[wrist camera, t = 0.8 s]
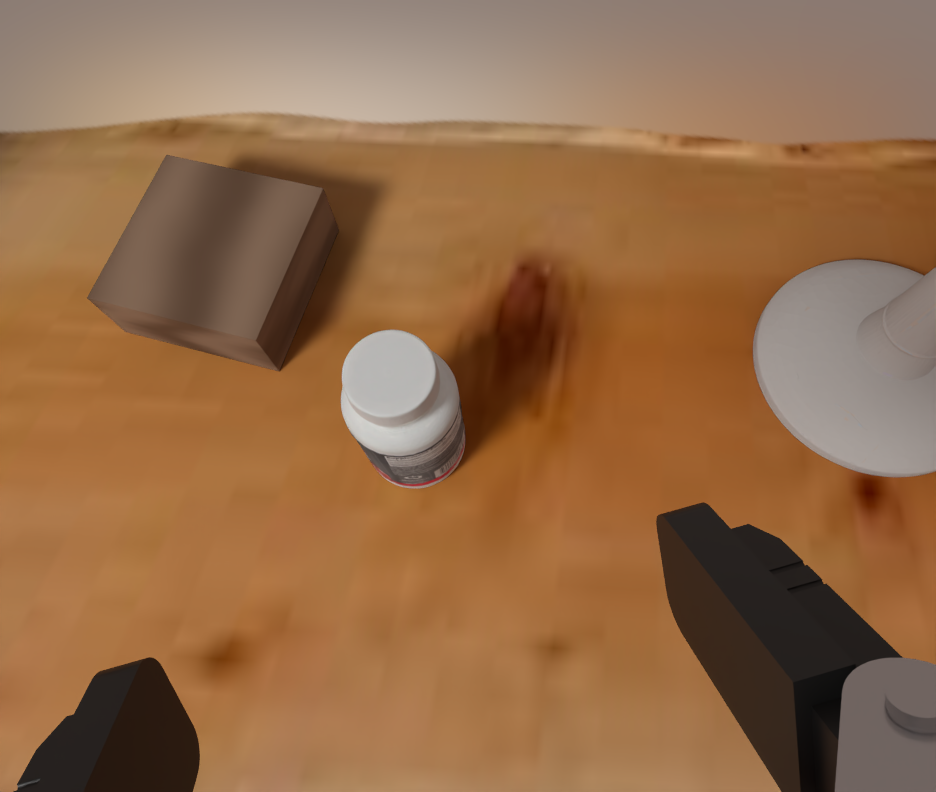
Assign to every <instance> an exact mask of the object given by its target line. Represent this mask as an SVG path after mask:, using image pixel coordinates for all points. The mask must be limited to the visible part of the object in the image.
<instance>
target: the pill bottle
mask: <svg viewBox="0 0 936 792" xmlns="http://www.w3.org/2000/svg"><path fill="white" fill-rule="evenodd" d="M342 384H343V388H342V393H341V408H342V414H343V417H344V420H345V422H346V425H347V427H348V429H349V430H350V432H351V434H352V436H353V437H354V438H355V439H356V440H357V442H358V443H359V445H360V446H361V448H362V449H363V451H364V452H365V454H366V455H367V457H368V458H369V460H370V462H371V463H372V465H373V466H374V467H375V469H376V470H377V471H378V472H379V473H380V474H381V475H382V476H383V477H384V478H385V479H386V480H388V481H389V482H391V483H393V484H395V485H398V486H401V487H405V488H425V487H429V486H432V485H434V484H436V483H439V482H441V481H442V480H444V479H445V478H447V477H448V476H449V475H450V474H451V473H452V472H453V471H454V470H455V468H456V467H457V466H458V464H459V462H460V460H461V458H462V456H463V452H464V448H465V428H464V423H463V417H462V410H461V402H460V397H459V391H458V386H457V383H456V380H455V377H454V375H453V373H452V371H451V369H450V368H449V366H448V365H447V364H446V363H445V361H444V360H443V359H442V358H441V357H439V356H438V355H437V354H436V353H434V352H433V351H431V350H430V349H429V347H428V346H427V345H426V344H425V343H424V342H423V341H422V340H421V339H419V338H418V337H416V336H415V335H413V334H410V333H408V332H405V331H401V330H384V331H379V332H375V333H373V334H370V335H368V336H367V337H365V338H363V339H362V340H360V341H359V342H358V343H357V344H356V345H355V346H354V347H353V348H352V349H351V351H350V352H349V354H348V355H347V357H346V359H345V362H344V365H343V369H342Z"/></svg>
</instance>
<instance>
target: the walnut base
mask: <svg viewBox="0 0 936 792" xmlns="http://www.w3.org/2000/svg"><path fill="white" fill-rule="evenodd" d="M338 231H339V229H338V226H337V223H336V221H335V218H334V216H333V213H332V210H331V208H330V205H329V202H328V200H327V197H326V194H325V192H324V189H323V188H320V187H315V186H311V185H306V184H301V183H297V182H292V181H287V180H283V179H278V178H273V177H268V176H264V175H259V174H254V173H250V172H245V171H240V170H236V169H231V168H226V167H221V166H217V165H212V164H207V163H203V162H198V161H193V160H189V159H184V158H179V157H175V156H170V155H166V156H165V158H164V160H163V162H162V164H161V165H160V167H159V169H158V171H157V173H156V175H155V176H154V178H153V180H152V182H151V184H150V185H149V187H148V189H147V191H146V193H145V194H144V196H143V198H142V200H141V202H140V203H139V205H138V207H137V209H136V211H135V212H134V214H133V216H132V218H131V220H130V221H129V223H128V225H127V227H126V229H125V230H124V232H123V234H122V236H121V238H120V239H119V241H118V243H117V245H116V247H115V248H114V250H113V252H112V254H111V256H110V257H109V259H108V261H107V263H106V265H105V266H104V268H103V270H102V272H101V274H100V275H99V277H98V279H97V281H96V283H95V284H94V286H93V288H92V290H91V292H90V293H89V295H88V297H87V298H88V299H89V300H90V301H91V302H92V303H93V304H94V305H96V306H97V307H98V308H99V309H100V310H101V311H102V312H103V313H105V314H106V315H107V316H108V317H109V318H110V319H111V320H113V321H114V322H115V323H116V324H117V325H118V326H119V327H121V328H122V329H123V330H124V331H125V332H129V333H132V334H136V335H140V336H144V337H148V338H152V339H156V340H160V341H163V342H167V343H171V344H175V345H179V346H183V347H187V348H191V349H194V350H198V351H202V352H206V353H210V354H214V355H218V356H222V357H226V358H229V359H233V360H237V361H241V362H245V363H249V364H253V365H257V366H260V367H264V368H268V369H272V370H276V371H280V368H281V366H282V364H283V361H284V359H285V357H286V354H287V352H288V350H289V347H290V345H291V342H292V340H293V338H294V335H295V333H296V331H297V328H298V326H299V323H300V321H301V319H302V316H303V314H304V312H305V309H306V307H307V304H308V302H309V300H310V297H311V295H312V293H313V290H314V288H315V285H316V283H317V281H318V278H319V276H320V274H321V271H322V269H323V267H324V264H325V262H326V259H327V257H328V255H329V252H330V250H331V248H332V245H333V243H334V240H335V238H336V236H337V233H338Z"/></svg>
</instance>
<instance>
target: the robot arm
mask: <svg viewBox="0 0 936 792" xmlns="http://www.w3.org/2000/svg"><path fill="white" fill-rule="evenodd" d="M656 523H657V532H658V539H659V545H660V552H661V558H662V565H663V571H664V578H665V584H666V591H667V596H668V600H669V604H670V607H671V610H672V613H673V615H674V618H675V620H676V623H677V625H678V627H679V629H680V631H681V633H682V634H683V636H684V638H685V639H686V641H687V642H688V644H689V645H690V647H691V649H692V650H693V652H694V653H695V655H696V657H697V658H698V660H699V661H700V663H701V664H702V666H703V668H704V669H705V671H706V672H707V674H708V676H709V677H710V679H711V680H712V682H713V684H714V685H715V687H716V688H717V690H718V691H719V693H720V695H721V696H722V698H723V699H724V701H725V703H726V704H727V706H728V707H729V709H730V710H731V712H732V714H733V715H734V717H735V718H736V720H737V722H738V723H739V725H740V726H741V728H742V729H743V731H744V733H745V734H746V736H747V737H748V739H749V741H750V742H751V744H752V745H753V747H754V749H755V750H756V752H757V753H758V755H759V756H760V758H761V760H762V761H763V763H764V764H765V766H766V768H767V769H768V771H769V772H770V774H771V775H772V777H773V779H774V780H775V782H776V783H777V785H778V787H779V788H780V790H781V791H782V792H936V665H934V664H931V663H928V662H924V661H920V660H916V659H908V658H903V657H902V656H900V655H899V654H898V653H897V652H896V651H895V650H894V649H893V648H892V647H891V646H890V645H889V644H888V643H887V642H886V641H885V640H884V639H883V638H882V637H881V636H880V635H879V634H878V633H877V632H876V631H875V630H874V629H873V628H872V627H871V626H870V625H868V624H867V623H866V622H865V621H864V620H863V619H862V618H861V617H860V616H859V615H858V614H857V613H856V612H855V611H854V610H853V609H852V608H851V607H850V606H849V605H848V604H847V603H846V602H845V601H844V600H843V599H842V598H841V597H840V596H839V595H838V594H837V593H836V592H835V591H833V590H832V589H831V588H830V587H829V586H828V585H827V584H823V582H822V579H821V578H820V577H819V576H818V575H817V574H816V573H815V572H814V571H813V570H812V569H811V568H810V567H809V566H808V565H804V563H803V560H802V559H801V558H800V557H798V556H797V555H796V554H795V553H794V552H793V551H792V550H791V549H790V548H789V547H788V546H787V545H786V544H785V543H784V542H783V541H782V540H781V539H780V538H777V537H775V536H773V535H771V534H769V533H767V532H764V531H762V530H760V529H758V528H756V527H754V526H752V525H749V524H747V525H743V526H740V527H736V528H733V529H730V528H729V527H728V525H727V524H726V523H725V522H724V521H723V520H722V519H721V518H720V517H719V516H718V515H717V514H716V512H715V511H714V510H713V509H712V508H711V507H710V506H709V505H708V504H706V503H699V504H696V505H692V506H689V507H685V508H681V509H678V510H674V511H671V512H667V513H664V514H660V515H658V516H657V521H656ZM199 760H200V752H199V743H198V738H197V734H196V731H195V728H194V726H193V724H192V722H191V720H190V718H189V717H188V715H187V713H186V711H185V709H184V707H183V705H182V703H181V702H180V700H179V698H178V696H177V694H176V692H175V690H174V688H173V686H172V685H171V683H170V681H169V679H168V677H167V675H166V673H165V671H164V669H163V668H162V666H161V664H160V663H159V662H158V661H157V660H156V659H154V658H145V659H142V660H138V661H135V662H131V663H128V664H124V665H121V666H117V667H114V668H110V669H106V670H103V671H100V672H98V673H97V674H96V675H95V676H94V677H93V679H92V681H91V683H90V684H89V686H88V688H87V690H86V692H85V694H84V696H83V698H82V700H81V702H80V704H79V706H78V707H77V709H76V711H75V713H74V715H70V716H67V717H66V718H65V719H64V720H63V721H62V722H61V723H60V724H59V725H58V726H57V728H56V729H55V730H54V731H53V732H52V733H51V734H50V735H49V736H48V737H47V739H46V740H45V741H44V742H43V743H42V744H41V745H40V746H39V747H38V749H37V750H36V751H35V753H34V755H33V757H32V759H31V760H30V762H29V764H28V766H27V768H26V769H25V771H24V773H23V775H22V777H21V778H20V780H19V782H18V784H17V785H18V790H17V791H14V792H193V789H194V785H195V781H196V778H197V774H198V770H199Z"/></svg>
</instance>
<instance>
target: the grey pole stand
mask: <svg viewBox="0 0 936 792" xmlns="http://www.w3.org/2000/svg"><path fill="white" fill-rule="evenodd" d="M753 360H754V367H755V372H756V376H757V380H758V383H759V385H760V388H761V391H762V393H763V395H764V397H765V399H766V401H767V403H768V404H769V406H770V408H771V409H772V411H773V412H774V414H775V415H776V416H777V418H778V419H779V420H780V421H781V423H782V424H783V425H784V426H785V427H786V428H787V429H788V430H789V431H790V432H791V433H792V434H793V435H794V436H795V437H796V438H797V439H798V440H799V441H801V442H802V443H803V444H805V445H806V446H807V447H809V448H810V449H811V450H813V451H814V452H816V453H817V454H819V455H821V456H822V457H824V458H826V459H828V460H830V461H832V462H834V463H836V464H839V465H841V466H843V467H846V468H849V469H851V470H855V471H858V472H862V473H866V474H871V475H876V476H884V477H910V476H918V475H924V474H928V473H932V472H935V471H936V267H935V268H934V269H933V270H931V271H930V272H929V273H928V274H926V275H925V276H924V275H922V274H919V273H917V272H915V271H912V270H910V269H907V268H904V267H901V266H898V265H894V264H890V263H885V262H880V261H872V260H842V261H835V262H830V263H825V264H822V265H819V266H816V267H813V268H811V269H808V270H806V271H804V272H802V273H800V274H799V275H797V276H795V277H794V278H792V279H791V280H790V281H788V282H787V283H786V284H785V285H783V286H782V287H781V288H780V289H779V290H778V291H777V292H776V294H775V295H774V296H773V297H772V299H771V300H770V301H769V303H768V304H767V306H766V307H765V309H764V310H763V312H762V314H761V316H760V319H759V321H758V324H757V327H756V331H755V335H754V342H753Z"/></svg>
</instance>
